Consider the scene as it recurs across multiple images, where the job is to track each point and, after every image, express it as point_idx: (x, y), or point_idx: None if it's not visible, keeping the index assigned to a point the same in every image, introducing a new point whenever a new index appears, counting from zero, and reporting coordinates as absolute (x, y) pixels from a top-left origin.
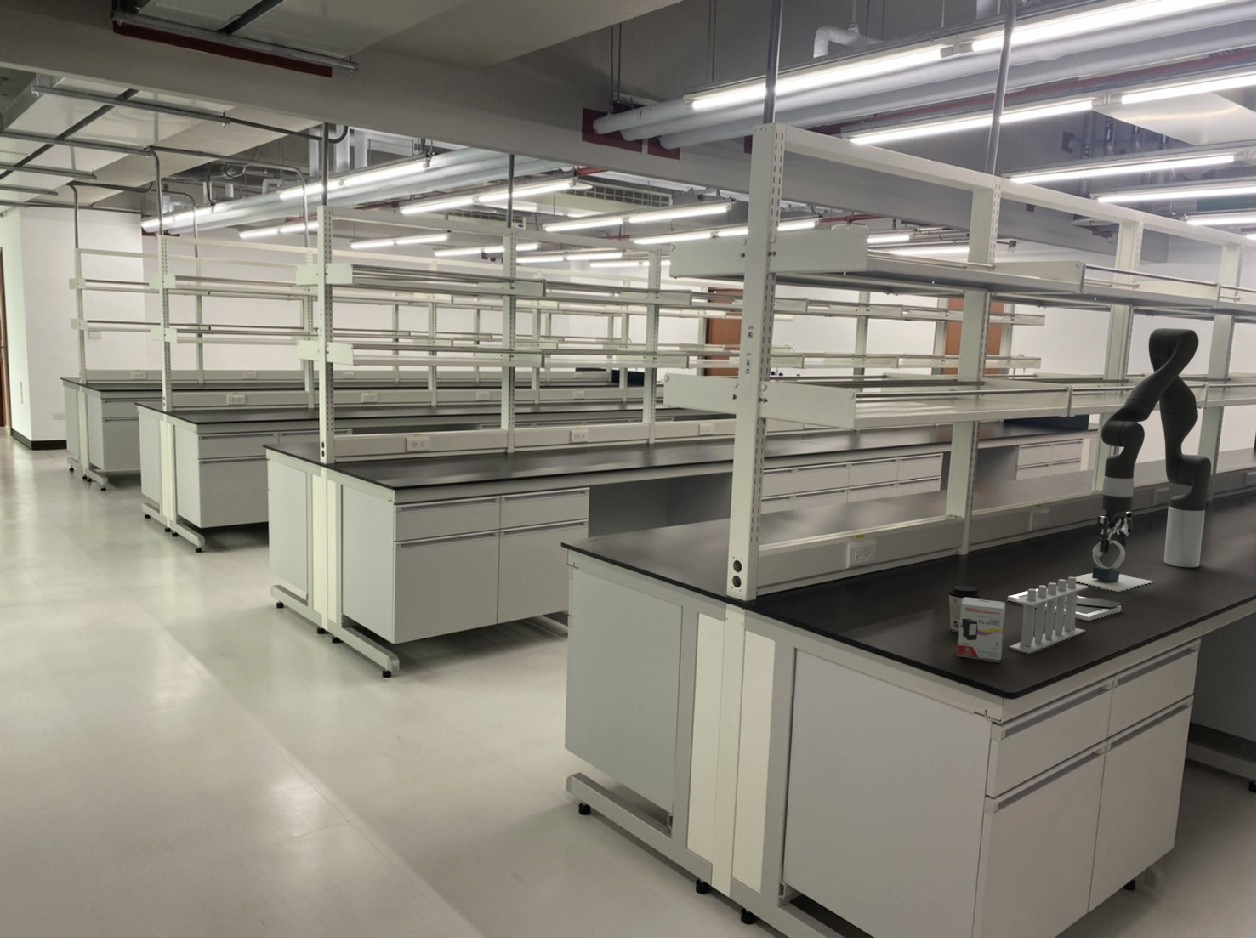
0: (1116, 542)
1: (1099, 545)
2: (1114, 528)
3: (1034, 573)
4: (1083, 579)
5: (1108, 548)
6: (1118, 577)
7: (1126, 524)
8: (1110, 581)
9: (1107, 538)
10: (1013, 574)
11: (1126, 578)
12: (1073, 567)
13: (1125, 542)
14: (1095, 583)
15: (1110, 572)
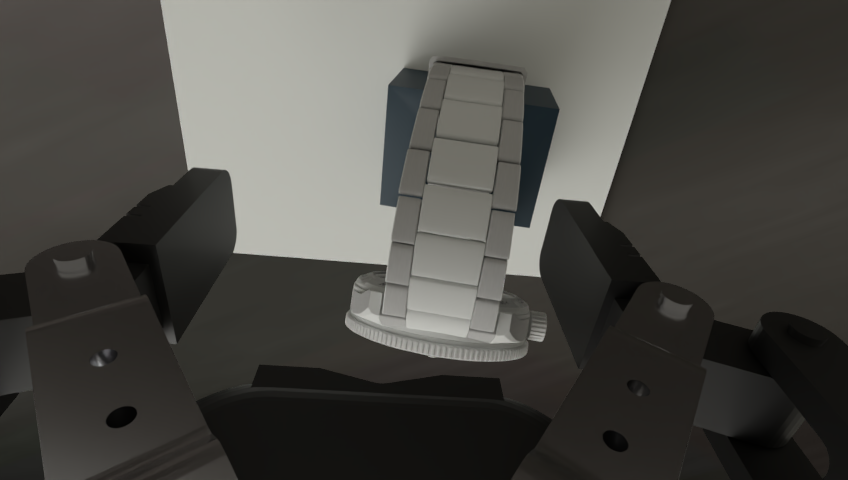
0: (460, 226)
1: (524, 329)
2: (692, 407)
3: (547, 405)
4: (532, 224)
5: (594, 222)
6: (399, 73)
7: (84, 411)
8: None
9: (703, 310)
10: None
11: (258, 66)
12: (257, 365)
13: (177, 202)
14: (587, 138)
15: (532, 100)
